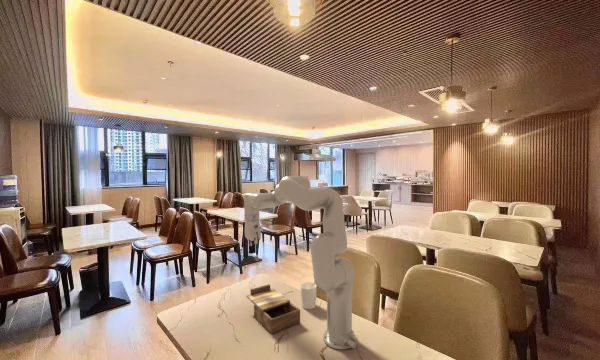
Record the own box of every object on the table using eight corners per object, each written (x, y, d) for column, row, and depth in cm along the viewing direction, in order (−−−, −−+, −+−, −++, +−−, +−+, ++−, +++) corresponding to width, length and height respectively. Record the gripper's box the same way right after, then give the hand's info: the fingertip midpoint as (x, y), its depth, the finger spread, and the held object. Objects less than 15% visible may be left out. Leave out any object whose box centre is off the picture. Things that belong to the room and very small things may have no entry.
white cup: (317, 310, 127) (316, 289, 126) (300, 310, 127) (300, 289, 127) (316, 301, 135) (316, 282, 134) (300, 301, 135) (300, 282, 134)
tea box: (300, 323, 116) (300, 309, 116) (271, 334, 108) (271, 320, 107) (281, 308, 129) (280, 295, 129) (254, 317, 121) (253, 304, 121)
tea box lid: (290, 302, 122) (289, 295, 122) (262, 311, 114) (262, 303, 114) (272, 289, 135) (272, 283, 135) (246, 297, 127) (246, 290, 127)
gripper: (265, 218, 133) (265, 255, 133) (252, 214, 145) (252, 248, 146) (251, 220, 128) (251, 258, 129) (239, 215, 141) (239, 250, 141)
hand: (252, 252), depth 137 cm, fingers closed
